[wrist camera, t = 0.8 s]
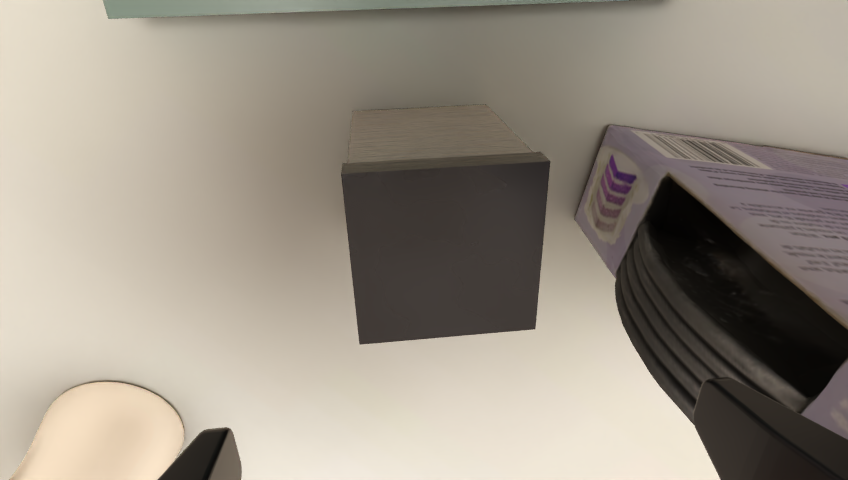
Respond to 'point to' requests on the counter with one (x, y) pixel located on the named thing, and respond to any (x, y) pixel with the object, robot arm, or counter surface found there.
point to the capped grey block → (442, 223)
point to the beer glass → (104, 436)
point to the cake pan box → (727, 265)
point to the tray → (284, 6)
